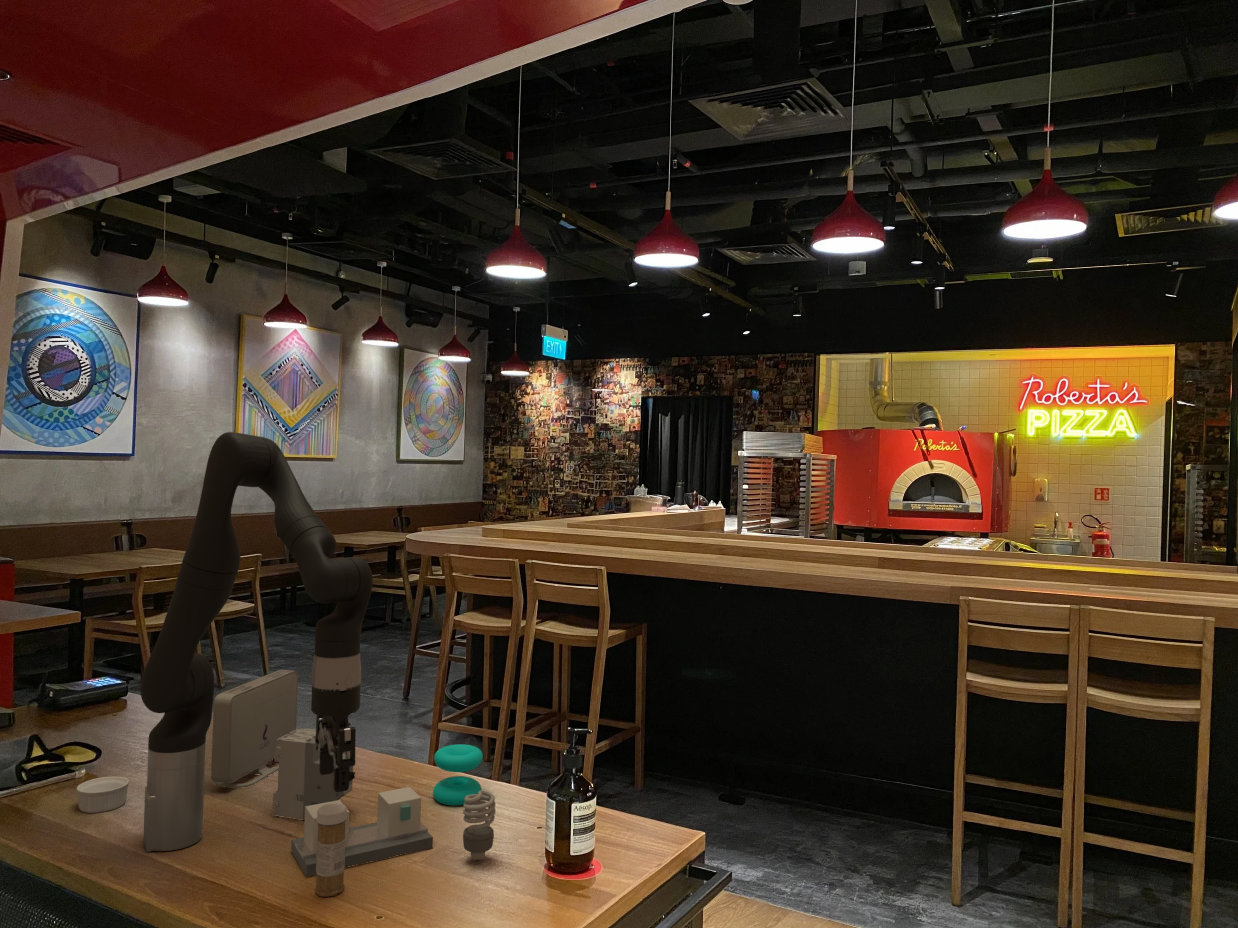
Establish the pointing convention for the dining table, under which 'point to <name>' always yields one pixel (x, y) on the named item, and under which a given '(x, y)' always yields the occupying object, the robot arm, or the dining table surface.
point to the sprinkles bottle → (330, 849)
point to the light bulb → (479, 835)
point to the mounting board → (369, 850)
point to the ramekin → (102, 794)
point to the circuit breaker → (302, 775)
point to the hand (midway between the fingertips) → (333, 781)
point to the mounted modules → (393, 817)
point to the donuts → (457, 761)
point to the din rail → (359, 839)
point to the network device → (252, 726)
